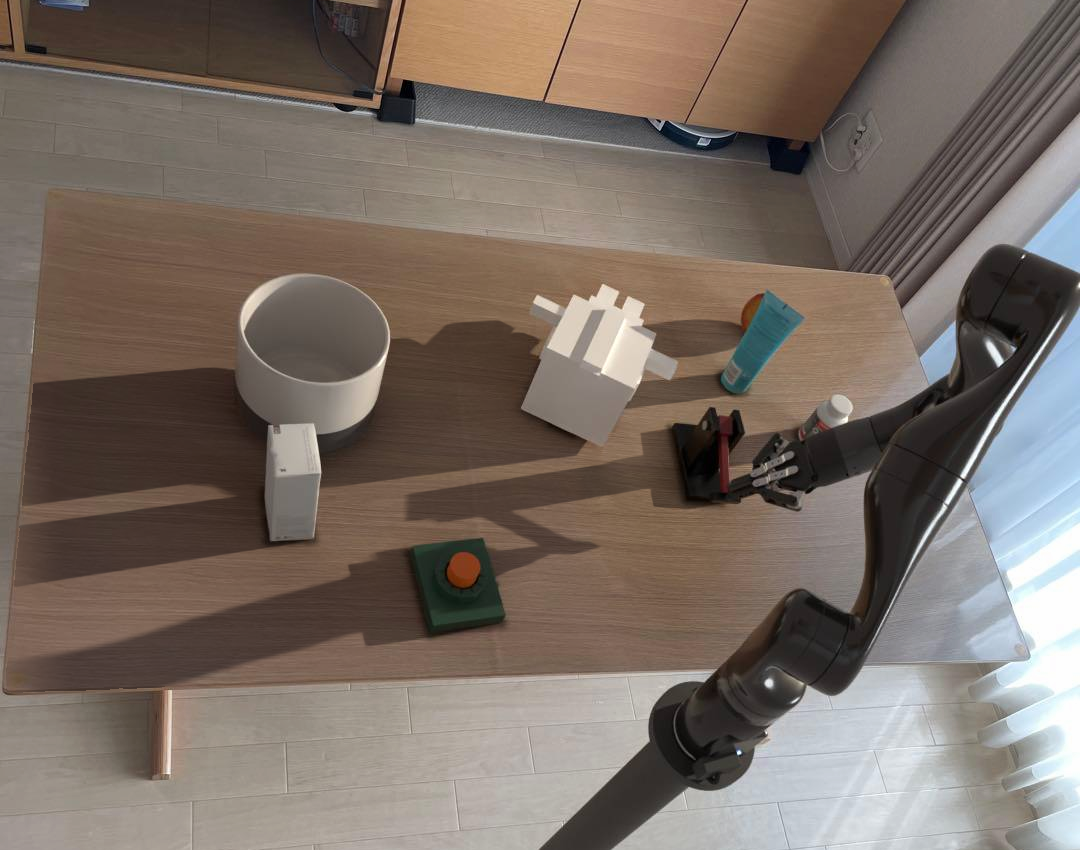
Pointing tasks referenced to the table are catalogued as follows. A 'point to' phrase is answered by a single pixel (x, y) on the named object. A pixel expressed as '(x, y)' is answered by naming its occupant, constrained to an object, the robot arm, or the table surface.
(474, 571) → the button
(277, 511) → the cosmetic box
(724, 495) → the red and black bar
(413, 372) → the table surface
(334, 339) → the planter
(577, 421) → the white voxel figure
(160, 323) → the table surface
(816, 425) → the pill bottle
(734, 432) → the black bracket
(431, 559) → the button box
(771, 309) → the tube
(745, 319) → the fruit
